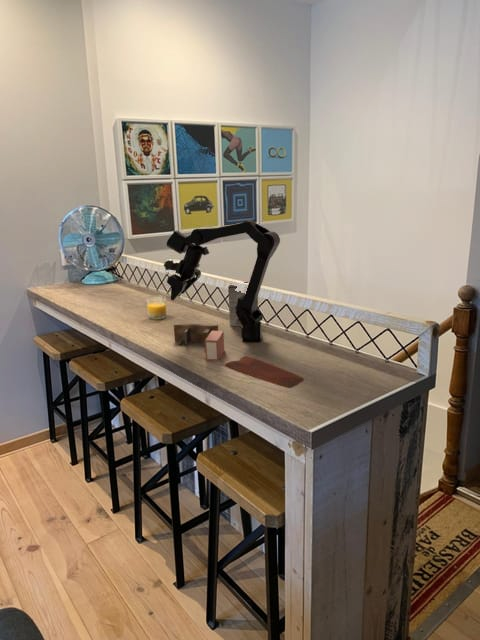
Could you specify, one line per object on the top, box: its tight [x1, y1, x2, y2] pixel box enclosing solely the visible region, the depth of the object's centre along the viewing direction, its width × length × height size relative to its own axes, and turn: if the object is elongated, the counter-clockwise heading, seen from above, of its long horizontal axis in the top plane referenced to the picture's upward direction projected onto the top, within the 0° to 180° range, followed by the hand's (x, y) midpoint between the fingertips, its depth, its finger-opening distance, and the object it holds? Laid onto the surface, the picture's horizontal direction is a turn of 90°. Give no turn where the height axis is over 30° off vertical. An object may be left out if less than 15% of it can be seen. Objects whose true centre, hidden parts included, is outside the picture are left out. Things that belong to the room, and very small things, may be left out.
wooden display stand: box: [173, 323, 219, 347], centre depth 174 cm, size 16×6×6 cm, turn 81°
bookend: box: [178, 328, 192, 347], centre depth 175 cm, size 3×6×5 cm, turn 171°
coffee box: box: [227, 281, 249, 327], centre depth 195 cm, size 9×6×16 cm
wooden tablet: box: [224, 355, 306, 388], centre depth 147 cm, size 27×10×2 cm, turn 43°
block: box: [204, 330, 225, 362], centre depth 162 cm, size 4×10×7 cm, turn 171°
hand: (177, 296), depth 184 cm, fingers open, 9 cm apart
